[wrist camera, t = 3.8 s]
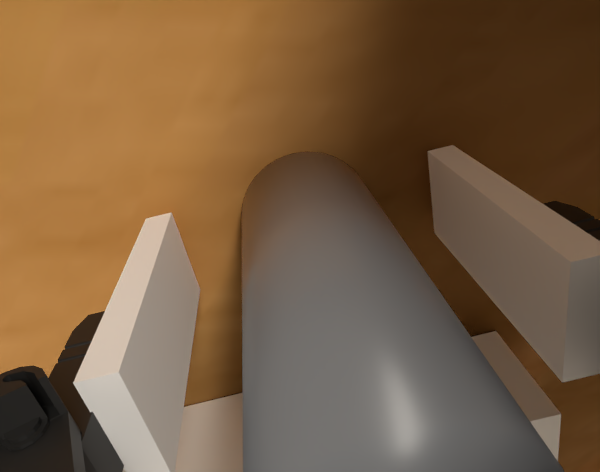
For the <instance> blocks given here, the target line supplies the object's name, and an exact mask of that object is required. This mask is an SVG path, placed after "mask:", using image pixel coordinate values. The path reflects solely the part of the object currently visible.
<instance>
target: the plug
mask: <svg viewBox="0 0 600 472" xmlns="http://www.w3.org/2000/svg"><path fill="white" fill-rule="evenodd" d="M242 394H243V472H564V470H563V468H562V467H561V465H560V464H559V462H558V461H557V460H556V458H555V457H554V455H553V454H552V452H551V451H550V449H549V448H548V447H547V445H546V444H545V442H544V441H543V439H542V438H541V437H540V435H539V434H538V432H537V431H536V429H535V428H534V427H533V425H532V424H531V422H530V421H529V419H528V418H527V416H526V415H525V414H524V412H523V411H522V409H521V408H520V406H519V405H518V404H517V402H516V401H515V399H514V398H513V396H512V395H511V394H510V392H509V391H508V389H507V388H506V386H505V385H504V383H503V382H502V381H501V379H500V378H499V376H498V375H497V373H496V372H495V371H494V369H493V368H492V366H491V365H490V363H489V362H488V360H487V359H486V358H485V356H484V355H483V353H482V352H481V350H480V349H479V348H478V346H477V345H476V343H475V342H474V340H473V339H472V338H471V336H470V335H469V333H468V332H467V330H466V329H465V327H464V326H463V325H462V323H461V322H460V320H459V319H458V317H457V316H456V315H455V313H454V312H453V310H452V309H451V307H450V306H449V305H448V303H447V302H446V300H445V299H444V297H443V296H442V294H441V293H440V292H439V290H438V289H437V287H436V286H435V284H434V283H433V282H432V280H431V279H430V277H429V276H428V274H427V273H426V271H425V270H424V269H423V267H422V266H421V264H420V263H419V261H418V260H417V259H416V257H415V256H414V254H413V253H412V251H411V250H410V249H409V247H408V246H407V244H406V243H405V241H404V240H403V238H402V237H401V236H400V234H399V233H398V231H397V230H396V228H395V227H394V226H393V224H392V223H391V221H390V220H389V218H388V217H387V216H386V214H385V213H384V211H383V210H382V208H381V207H380V205H379V204H378V203H377V201H376V200H375V198H374V197H373V195H372V194H371V193H370V191H369V190H368V188H367V187H366V185H365V184H364V182H363V181H362V180H361V178H360V177H359V176H358V174H357V173H356V172H355V171H354V170H353V169H352V168H351V167H350V166H349V165H348V164H346V163H345V162H343V161H342V160H340V159H338V158H336V157H334V156H331V155H328V154H324V153H319V152H299V153H293V154H290V155H287V156H284V157H281V158H279V159H277V160H275V161H273V162H272V163H270V164H269V165H267V166H266V167H265V168H264V169H262V170H261V171H260V172H259V173H258V174H257V176H256V177H255V178H254V179H253V181H252V182H251V184H250V186H249V187H248V189H247V191H246V194H245V197H244V200H243V205H242Z"/></svg>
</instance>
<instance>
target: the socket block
mask: <svg viewBox="0 0 600 472" xmlns="http://www.w3.org/2000/svg"><path fill="white" fill-rule="evenodd" d="M471 338H472V339H473V340H474V342H475V343H476V345H477V346H478V348H479V349H480V350H481V352H482V353H483V355H484V356H485V358H486V359H487V360H488V362H489V363H490V365H491V366H492V368H493V369H494V371H495V372H496V373H497V375H498V376H499V378H500V379H501V381H502V382H503V383H504V385H505V386H506V388H507V389H508V391H509V392H510V394H511V395H512V396H513V398H514V399H515V401H516V402H517V404H518V405H519V406H520V408H521V409H522V411H523V412H524V414H525V415H526V416H527V418H528V419H529V421H530V422H531V424H532V425H533V427H534V428H535V429H536V431H537V432H538V434H539V435H540V437H541V438H542V439H543V441H544V442H545V444H546V445H547V447H548V448H549V449H550V451H551V452H552V454H553V455H554V457H555V458H556V460H557V461H558V452H559V438H560V424H561V413H560V412H559V410H558V409H557V408H556V407H555V405H554V404H553V403H552V401H551V400H550V399H549V398H548V396H547V395H546V394H545V393H544V391H543V390H542V389H541V388H540V386H539V385H538V384H537V382H536V381H535V380H534V379H533V377H532V376H531V375H530V374H529V372H528V371H527V370H526V368H525V367H524V366H523V365H522V363H521V362H520V361H519V360H518V358H517V357H516V356H515V354H514V353H513V352H512V351H511V349H510V348H509V347H508V346H507V344H506V343H505V342H504V341H503V339H502V338H501V337H500V335H499V334H498V333H497V332H496V331H493V332H489V333H485V334H481V335H477V336H473V337H471ZM123 472H125V470H124V469H123ZM175 472H243V394H242V393H239V394H235V395H231V396H227V397H223V398H219V399H214V400H210V401H206V402H202V403H198V404H194V405H190V406H186V407H184V409H183V416H182V423H181V430H180V437H179V444H178V451H177V458H176V465H175Z"/></svg>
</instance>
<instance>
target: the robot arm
mask: <svg viewBox="0 0 600 472" xmlns="http://www.w3.org/2000/svg"><path fill="white" fill-rule="evenodd" d="M427 152H428V164H429V176H430V188H431V200H432V211H433V223H434V233H435V234H436V236H437V237H438V238H439V239H440V240H441V241H442V243H443V244H444V245H445V246H446V247H447V248H448V250H449V251H450V252H451V253H452V254H453V255H454V257H455V258H456V259H457V260H458V261H459V262H460V264H461V265H462V266H463V267H464V268H465V269H466V271H467V272H468V273H469V274H470V275H471V276H472V278H473V279H474V280H475V281H476V282H477V284H478V285H479V286H480V287H481V288H482V289H483V291H484V292H485V293H486V294H487V295H488V296H489V298H490V299H491V300H492V301H493V302H494V303H495V305H496V306H497V307H498V308H499V309H500V310H501V312H502V313H503V314H504V315H505V316H506V317H507V319H508V320H509V321H510V322H511V323H512V324H513V326H514V327H515V328H516V329H517V330H518V331H519V333H520V334H521V335H522V336H523V337H524V338H525V340H526V341H527V342H528V343H529V344H530V345H531V347H532V348H533V349H534V350H535V351H536V352H537V354H538V355H539V356H540V357H541V358H542V360H543V361H544V362H545V363H546V364H547V365H548V367H549V368H550V369H551V370H552V371H553V372H554V374H555V375H556V376H557V377H558V378H559V379H560V381H561V382H562V383H563V382H567V381H571V380H575V379H580V378H584V377H588V376H592V375H596V374H600V220H598V219H594V217H593V216H591V215H590V214H588V213H586V212H585V211H583V210H581V209H580V208H578V207H575V206H571V205H568V204H564V203H561V202H557V201H552V202H548V203H544V204H542V203H541V202H539V201H538V200H536V199H535V198H533V197H532V196H530V195H529V194H527V193H525V192H524V191H522V190H521V189H519V188H518V187H516V186H515V185H513V184H512V183H510V182H509V181H507V180H506V179H504V178H503V177H501V176H499V175H498V174H496V173H495V172H493V171H492V170H490V169H489V168H487V167H486V166H484V165H483V164H481V163H480V162H478V161H476V160H475V159H473V158H472V157H470V156H469V155H467V154H466V153H464V152H463V151H461V150H460V149H458V148H457V147H455V146H454V145H451V146H446V147H442V148H438V149H434V150H430V151H427ZM199 295H200V287H199V285H198V282H197V279H196V277H195V274H194V271H193V269H192V266H191V263H190V261H189V258H188V255H187V252H186V250H185V247H184V244H183V242H182V239H181V236H180V234H179V231H178V228H177V225H176V223H175V220H174V217H173V215H172V212H171V213H167V214H163V215H159V216H155V217H151V218H146V220H145V222H144V224H143V227H142V229H141V231H140V233H139V236H138V238H137V240H136V242H135V245H134V247H133V249H132V251H131V254H130V256H129V258H128V260H127V263H126V265H125V267H124V269H123V272H122V274H121V276H120V278H119V281H118V283H117V285H116V287H115V290H114V292H113V294H112V296H111V299H110V301H109V303H108V305H107V308H106V310H105V311H103V312H99V313H95V314H91V315H88V316H87V317H86V318H85V319H84V320H83V321H82V322H81V323H80V324H79V325H78V326H77V327H76V328H75V329H74V330H73V332H72V334H71V335H70V337H69V339H68V341H67V343H66V345H65V350H63V351H62V353H61V355H60V357H59V359H58V363H56V365H55V366H54V368H53V370H52V372H51V374H50V376H49V378H48V377H47V376H46V374H45V372H44V371H43V369H42V368H39V367H36V366H26V367H19V368H16V369H13V370H10V371H7V372H4V373H2V374H0V472H123V469H124V470H125V472H175V465H176V458H177V451H178V444H179V437H180V430H181V423H182V416H183V409H184V402H185V394H186V387H187V380H188V373H189V366H190V359H191V352H192V345H193V338H194V331H195V324H196V316H197V309H198V302H199Z"/></svg>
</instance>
